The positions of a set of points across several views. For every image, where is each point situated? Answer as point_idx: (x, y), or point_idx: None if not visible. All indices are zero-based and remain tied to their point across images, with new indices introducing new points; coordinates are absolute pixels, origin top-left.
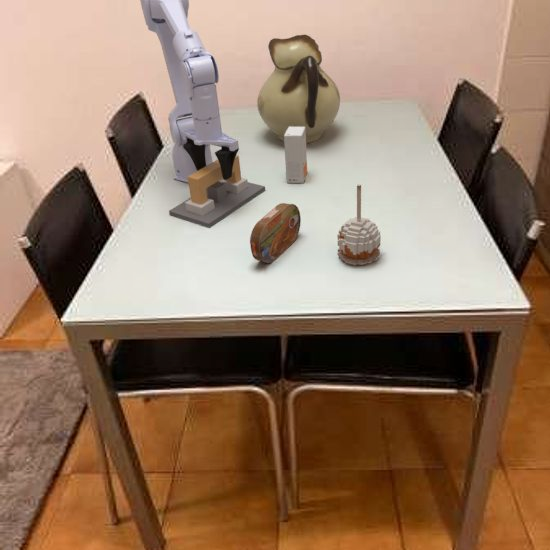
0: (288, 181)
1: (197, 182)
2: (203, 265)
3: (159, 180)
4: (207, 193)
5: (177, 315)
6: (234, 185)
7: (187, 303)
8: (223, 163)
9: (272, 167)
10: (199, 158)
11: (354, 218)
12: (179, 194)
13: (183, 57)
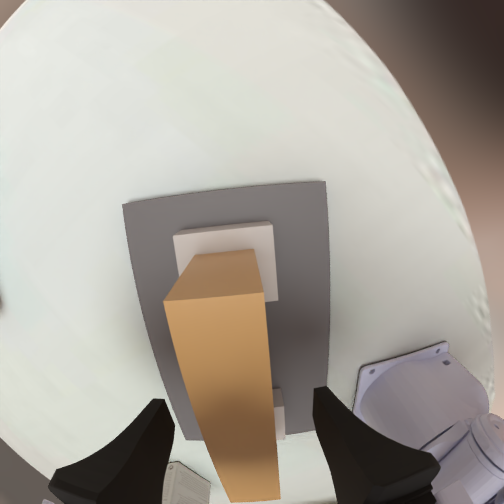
0: (174, 464)
1: (174, 293)
2: (35, 84)
3: (469, 313)
4: (298, 350)
5: (19, 8)
6: None
7: (16, 25)
8: (100, 452)
9: None
10: (334, 448)
11: None
12: (390, 300)
13: None
